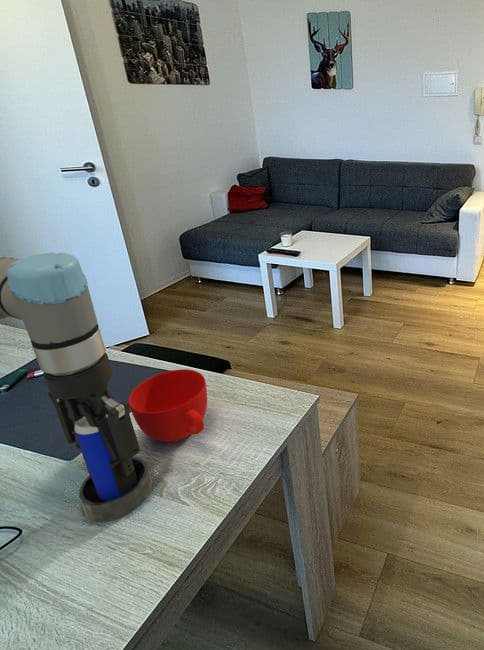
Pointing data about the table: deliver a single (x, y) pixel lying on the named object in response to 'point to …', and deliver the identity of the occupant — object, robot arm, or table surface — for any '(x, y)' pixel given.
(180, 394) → the ceramic cup
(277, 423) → the table surface
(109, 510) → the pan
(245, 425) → the table surface
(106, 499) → the beverage can
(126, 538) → the table surface
